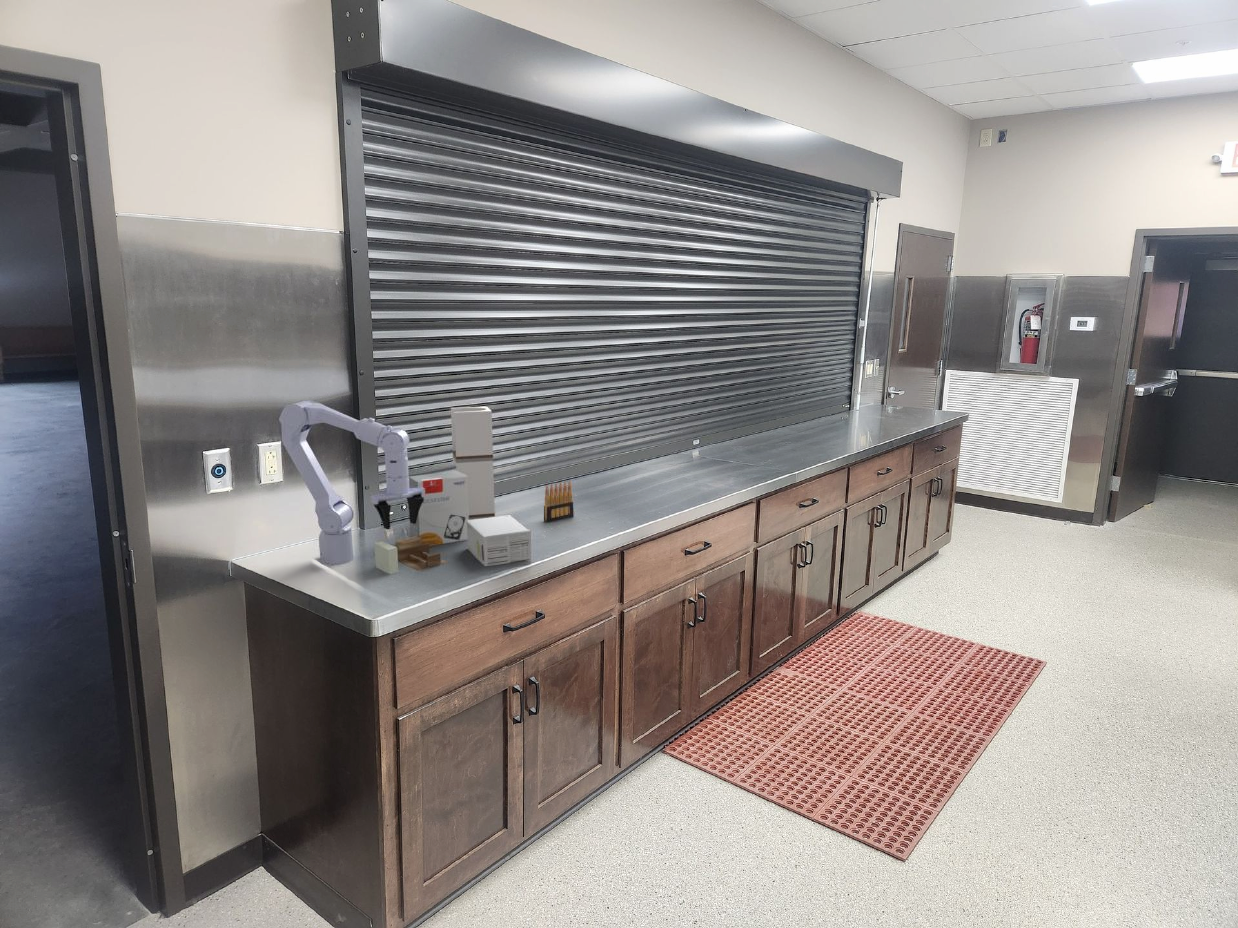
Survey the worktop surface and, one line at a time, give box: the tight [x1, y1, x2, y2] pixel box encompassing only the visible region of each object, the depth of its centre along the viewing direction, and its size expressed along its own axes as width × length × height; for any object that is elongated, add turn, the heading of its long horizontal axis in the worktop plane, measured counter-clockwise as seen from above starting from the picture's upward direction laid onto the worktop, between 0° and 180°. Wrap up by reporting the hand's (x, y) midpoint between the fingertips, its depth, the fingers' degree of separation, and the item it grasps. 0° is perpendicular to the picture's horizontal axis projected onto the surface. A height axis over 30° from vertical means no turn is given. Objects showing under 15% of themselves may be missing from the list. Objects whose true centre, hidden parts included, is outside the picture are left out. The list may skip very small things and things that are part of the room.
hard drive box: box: [408, 471, 469, 547], centre depth 229 cm, size 16×8×20 cm, turn 122°
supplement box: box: [466, 514, 532, 567], centre depth 218 cm, size 17×13×9 cm
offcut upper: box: [395, 536, 422, 550], centre depth 216 cm, size 3×6×2 cm, turn 137°
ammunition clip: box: [543, 480, 575, 523], centre depth 255 cm, size 11×2×12 cm, turn 131°
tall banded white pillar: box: [450, 406, 496, 520], centre depth 255 cm, size 11×11×35 cm
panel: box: [374, 540, 399, 575], centre depth 205 cm, size 8×2×7 cm, turn 44°
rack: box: [397, 543, 449, 571], centre depth 213 cm, size 15×9×4 cm, turn 43°
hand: (400, 525), depth 211 cm, fingers open, 7 cm apart
